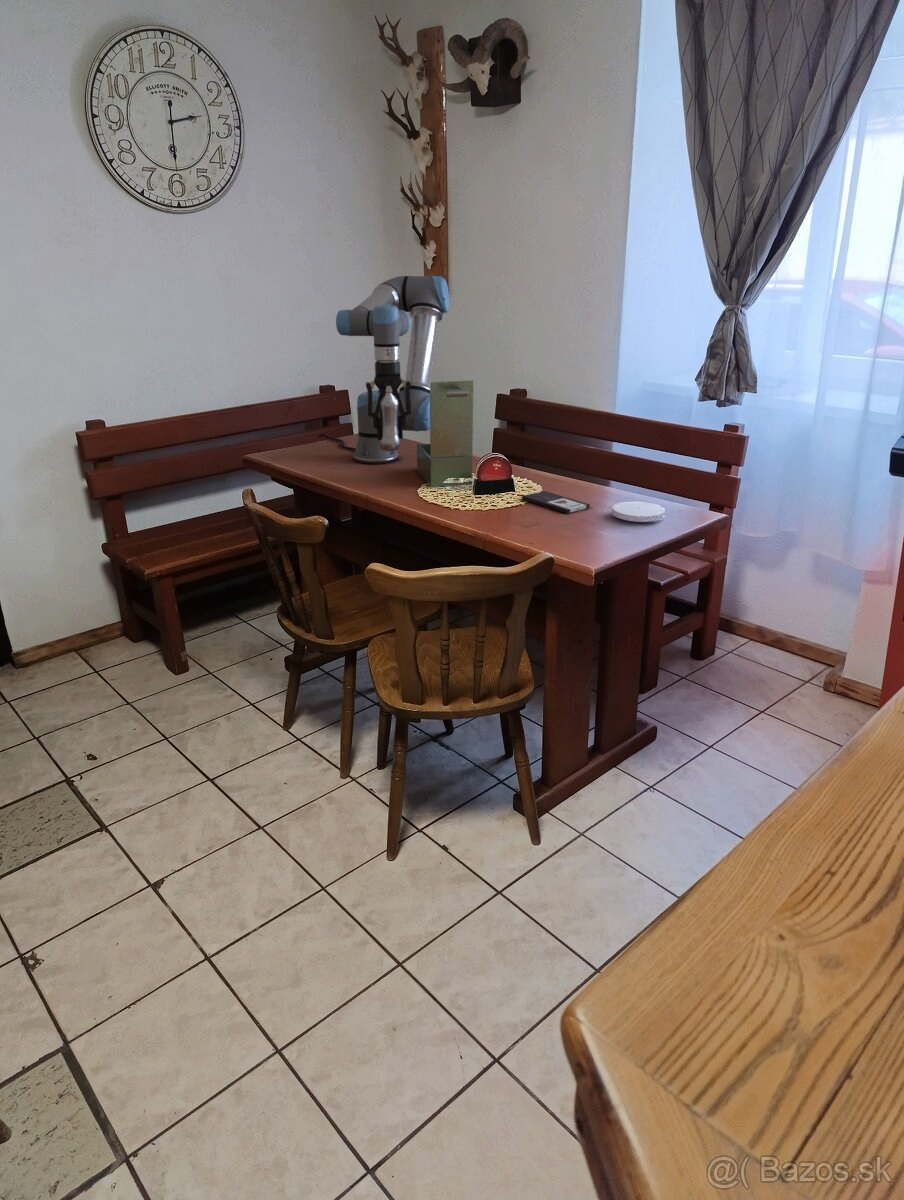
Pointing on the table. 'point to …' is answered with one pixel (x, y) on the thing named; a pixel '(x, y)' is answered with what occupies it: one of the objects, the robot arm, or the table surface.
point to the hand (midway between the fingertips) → (390, 438)
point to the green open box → (442, 467)
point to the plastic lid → (638, 511)
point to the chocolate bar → (555, 502)
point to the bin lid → (451, 418)
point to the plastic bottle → (389, 421)
